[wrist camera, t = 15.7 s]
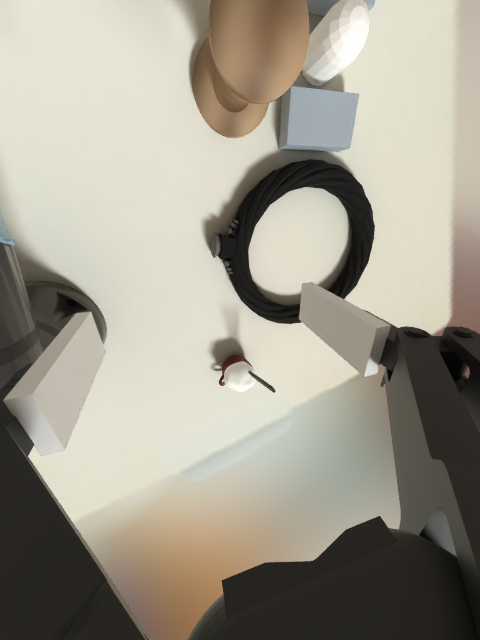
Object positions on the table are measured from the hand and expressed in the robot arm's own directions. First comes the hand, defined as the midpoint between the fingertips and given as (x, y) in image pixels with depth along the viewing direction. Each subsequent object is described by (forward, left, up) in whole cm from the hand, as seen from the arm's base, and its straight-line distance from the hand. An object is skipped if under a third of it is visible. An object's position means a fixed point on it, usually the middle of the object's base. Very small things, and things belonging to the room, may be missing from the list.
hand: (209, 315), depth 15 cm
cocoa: (+8, -24, -26) cm, 37 cm away
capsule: (+20, +24, -26) cm, 41 cm away
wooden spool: (+8, +20, -26) cm, 34 cm away
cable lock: (+19, -1, -27) cm, 33 cm away
